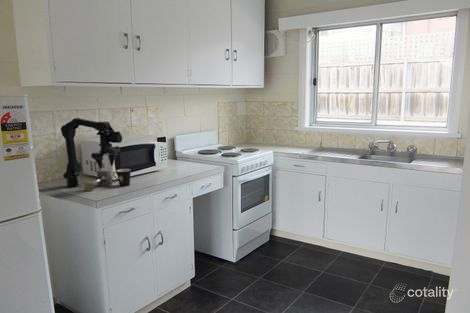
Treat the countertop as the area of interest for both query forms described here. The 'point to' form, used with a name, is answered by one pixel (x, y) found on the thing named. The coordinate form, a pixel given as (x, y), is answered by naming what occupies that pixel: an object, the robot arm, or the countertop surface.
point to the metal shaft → (89, 185)
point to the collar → (107, 177)
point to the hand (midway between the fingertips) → (106, 167)
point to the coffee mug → (123, 177)
